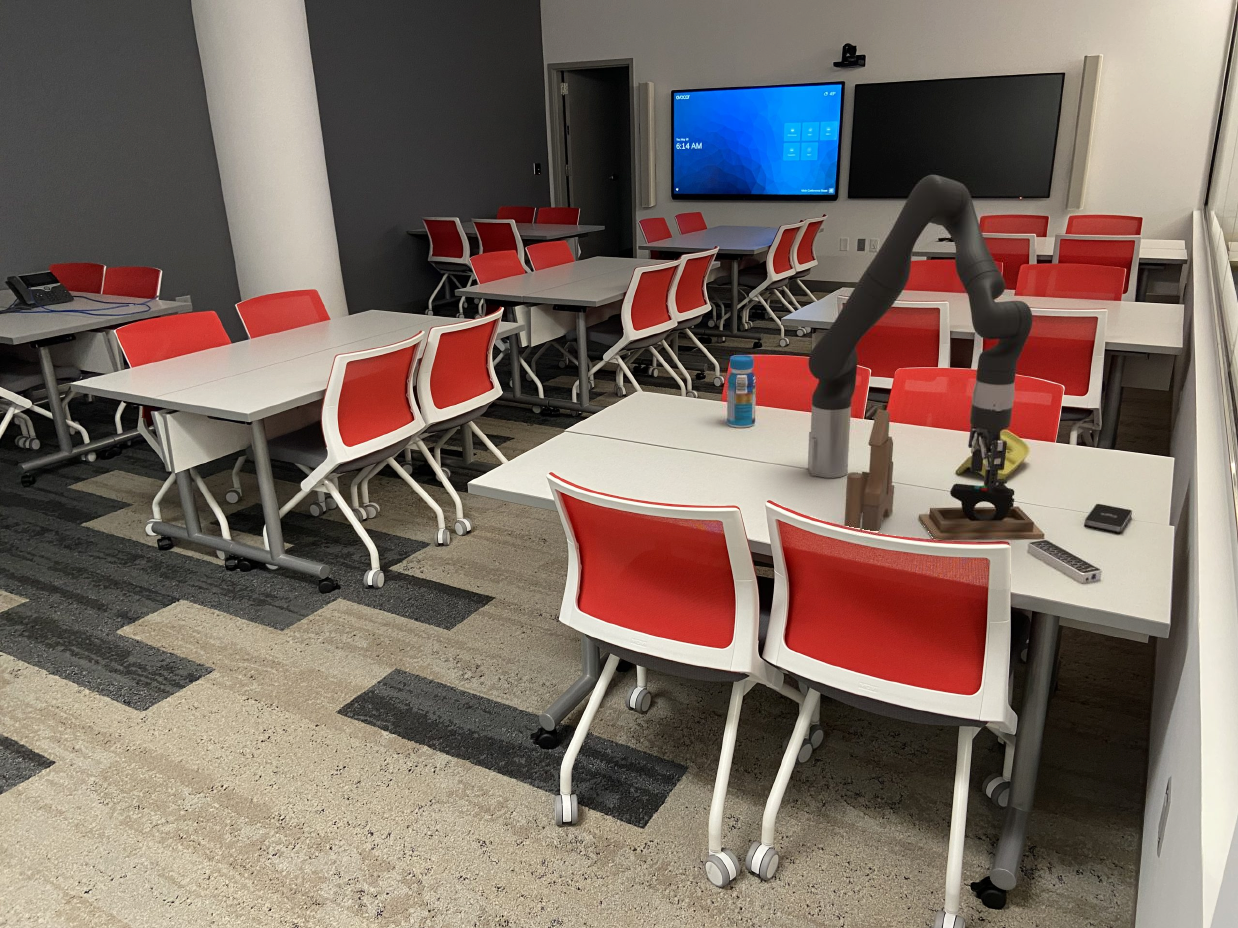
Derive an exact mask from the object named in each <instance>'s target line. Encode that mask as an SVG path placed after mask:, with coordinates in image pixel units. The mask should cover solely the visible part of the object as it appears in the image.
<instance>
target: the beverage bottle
mask: <svg viewBox="0 0 1238 928" xmlns="http://www.w3.org/2000/svg"><path fill="white" fill-rule="evenodd" d="M754 364H755V362H754V356H752V355H748V354H736V355H732V356H730V358H729V368H730V372H729V374H728V376H727V379H726V380H727V384H728V385H727V387H726V394H727V395H726V397H727V399H726V401H727V402H726V403H727V404H726V405H727V409H726V410H727V411H726V412H727V415H726V423H727V425H728V426H729V427H732V428H737V429H743V428H744V429H745V428H751V427H754V425H755V424H756V402H757V401H756V398H757V397H756V396H757V394H756V393H757V386H756V382H757V379H756V376H755V374H754V372H753V369H754V366H755V365H754Z"/></svg>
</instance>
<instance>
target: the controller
mask: <svg viewBox="0 0 1238 928" xmlns="http://www.w3.org/2000/svg"><path fill="white" fill-rule="evenodd" d="M1007 483H1008V480H1007V479H1006V478H1005V479H997V483H996V487H985V486H984V484H983V485H975V484H965V483H954V484H953V485H952V486H951V489H950V491H949V494H950V496H951V497H952V499H955V500H957V501H959V502H960V503H961V507H962V510H963V513H964V514H965V516H966V517H967V518H968V519H969V520H970V521H1002V520H1004V519H1005V517H1006V516H1007V515H1008V513H1009V511H1010V508H1011V507H1014V503H1015V497H1014V496H1015V490H1014V488H1009V487H1008V486H1006V484H1007ZM983 502H984V503H985V502H986V503H989V504H992V506H993V507H995V508H996V509H995V513H994V514H993V515H991V516H988V517H983V516H980V515H978V514H977V513H976V512H975V510H974V509H975V507H977V505H978V504H980V503H983Z"/></svg>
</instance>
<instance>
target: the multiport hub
mask: <svg viewBox="0 0 1238 928" xmlns="http://www.w3.org/2000/svg"><path fill="white" fill-rule="evenodd" d="M1026 550H1027V551H1026V552H1027V553H1028V554H1030V555H1031V556H1033V557H1035V558H1037V559H1038V560H1040V561H1042V562H1043V563H1045V564H1047V565H1049V566H1050V567H1052V568H1054V569H1055V570H1057V571H1059V572H1061V573H1063V574H1064V575H1066V576H1068V577H1069V578H1071V579H1073V580H1074V581H1076V582H1077V583H1080V584H1086V583H1093V582H1098V581H1101V577H1102V571H1103V570H1102V569H1101V568H1099V567H1097V566H1095V565H1093V564H1092V563H1090V562H1088V561H1086V560H1084V559H1082V558H1081V557H1079V556H1077V555H1075V554H1073V553H1071V552H1069V551H1068V550H1067V549H1064V548H1062V547H1060V546H1058V544H1055V543H1053V542H1052V541H1050V540H1047V539H1043V540H1035V541H1031V542H1030V541H1029V542H1028V543H1027V549H1026Z"/></svg>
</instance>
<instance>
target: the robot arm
mask: <svg viewBox="0 0 1238 928" xmlns="http://www.w3.org/2000/svg"><path fill="white" fill-rule="evenodd" d="M977 216H978V215H977V214H976V209H975V205H974V203H973V200H972V196H971V194H970V191H969V190H968V188H967V187H966V186H965V184H963V183H962V182H959V181H957V180H954V179H951V178H948V177H945V176H941V175H937V174H929V175H927V176H925V177H923V178H922V179H920V180H919V181H918V182H917V184H916V185H915V186H914V187H913V189H912V190H911V192H910V194H909V196H908V197H907V200H906V201H905V203H904V205H903V207H902V208H901V211H900V213H899V215H898V216H897V219H896V221H895V223H894V224H893V226H892V228H891V229H890V231H889V234H888V235H887V237H886V238H885V240H884V241H883V243H882V244H881V246H880V248H879V250H878V251H877V253H876V254H875V255H874V258H873V259H872V260H871V262H870V264H869V265H868V266H867V268H866V269H865V271H864V272H863V273H862V275H861V277H860V278H859V280H858V281H857V283H856V285H855V286H854V288H853V290H852V292H850V295H849V296H848V298H847V300H846V302H845V303H844V305H843V306H842V308H841V310H840V312H839V313H838V315H837V317H836V318H835V320H834V322H833V323H832V324H831V326H829V328H828V329H827V330H826V332H825V333H824V334H823V336H822V337H821V338H820V339H819V340H818V341H817V343H816V344H815V345H814V347H813V348H812V349H811V351H810V353H809V356H808V362H807V363H808V369H809V372H810V374H811V375H812V376H813V377H814V378H815V379H817V380H818V383H817V385H816V388H815V389H814V391H813V392H812V395H811V418H810V420H811V422H810V431H809V433H808V451H807V453H808V454H807V455H808V456H807V469H808V471H809V474H810V476H811V477H820V478H825V479H826V478H828V479H829V478H830V479H833V478H836V479H837V478H841V477H844V476H847V475H848V473H849V472H848V471H849V469H848V467H849V452H850V450H849V449H850V446H849V445H850V435H851V434H850V431H851V414H852V413H851V412H852V398H853V396H854V394H855V391H856V381H857V373H858V372H857V371H858V352H857V349H856V347H857V346H858V344H859V343H860V341H861V339H862V338H863V337H864V336H865V335H866V334H867V333H868V331H870V330H871V328H873V327H874V326H875V325H876V324H877V323H878V322H879V321H880V320H881V318H883V317H884V316H885V314H886V313H888V311H890V309H891V308H892V306H894V304H895V303H896V301H897V300H898V298H899V297H900V295H901V293H902V292H903V290H905V288H906V286H907V284H908V282H909V278H910V273H911V268H912V267H911V266H912V258H913V257H912V256H913V249H914V248H915V245H916V243H917V241H918V239H919V237H920V236H921V235H922V233H923V231H924V230H925V229H926V227H927V226H928V225H929V223H930V224H933V225H937V226H940V227H941V226H942V227H943V228H944V229H945V231H947V233H948V234H949V236H950V237H951V238H952V240H953V242H954V246H955V247H954V248H955V256H954V257H955V259H954V261H955V262H954V263H955V270H956V274H957V276H958V278H959V280H960V282H961V284H962V286H963V289H964V291H965V292H966V294H967V296H968V302H969V308H970V315H971V316H970V317H971V323H972V327H973V330H974V331H975V333H976V335H978V336H979V337H981V338H983V339H984V340H998V341H997V343H996V345H994V346H993V347H991V348H987V349H985V350H983V351H981V352H980V354H979V356H978V359H977V360H978V361H977V369H976V377H975V382H974V383H975V384H974V387H973V391H972V396H971V397H972V399H971V407H970V416H969V424H970V430H969V436H968V437H969V438H968V443H967V446H968V449H970V453H971V456H972V458H971V467H969V469H970V471H971V473H979V472H981V471H982V467H983V459H985V463H986V471H985V477H984V481H983V485H984V486H985V487H996V485H997V484H998V483H997V476H998V470H1004V466H1005V456H1006V447H1007V441H1002V440H1001V437H1000V432H1001V431H1003V430H1008V428H1009V427H1011V421H1012V414H1013V409H1014V407H1013V406H1014V400H1015V381H1016V373H1017V368H1018V367H1017V365H1018V361H1019V359H1020V356H1021V354H1022V352H1023V350H1024V348H1025V345H1026V343H1027V340H1028V337H1029V336H1030V333H1031V330H1032V327H1033V313H1032V310H1031V307H1030V306H1029V305H1028V304H1027V303H1026V302H1025V301H1022V300H1007V301H1006V300H1005V301H995V300H997V299H999V297H1001V296H1002V295H1003V293H1004V292H1005V291H1006V282H1005V279H1004V277H1003V275H1002V273H1001V271H1000V269H999V268H998V266H997V264H996V262H995V260H994V258H993V256H992V254H991V253H990V250H989V247H988V245H987V243H986V241H985V238H984V234H983V232H982V229H981V226H980V223H979V219H978V217H977ZM988 453H991V454H988ZM995 462H996V464H994V463H995Z"/></svg>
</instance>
